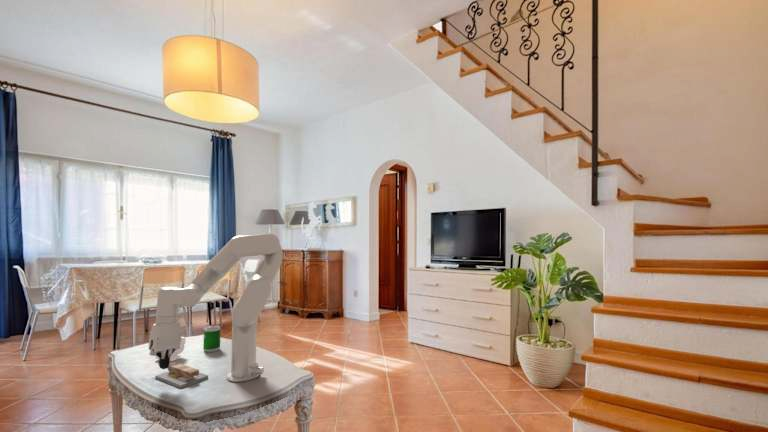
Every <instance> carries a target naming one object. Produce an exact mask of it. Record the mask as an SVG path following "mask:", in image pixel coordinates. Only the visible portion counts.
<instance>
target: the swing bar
mask: <svg viewBox="0 0 768 432" xmlns="http://www.w3.org/2000/svg"><path fill="white" fill-rule="evenodd" d="M167 370H168V371H171V372H174V373H177V374H180V375H182V376H185V377H188V378H192V377H195V376H197V375H199V372H200V369H197V368H194V367H192V366H188V365H186V364H183V363H180V362H171V363H170V362H169V366H168V368H167Z"/></svg>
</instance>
